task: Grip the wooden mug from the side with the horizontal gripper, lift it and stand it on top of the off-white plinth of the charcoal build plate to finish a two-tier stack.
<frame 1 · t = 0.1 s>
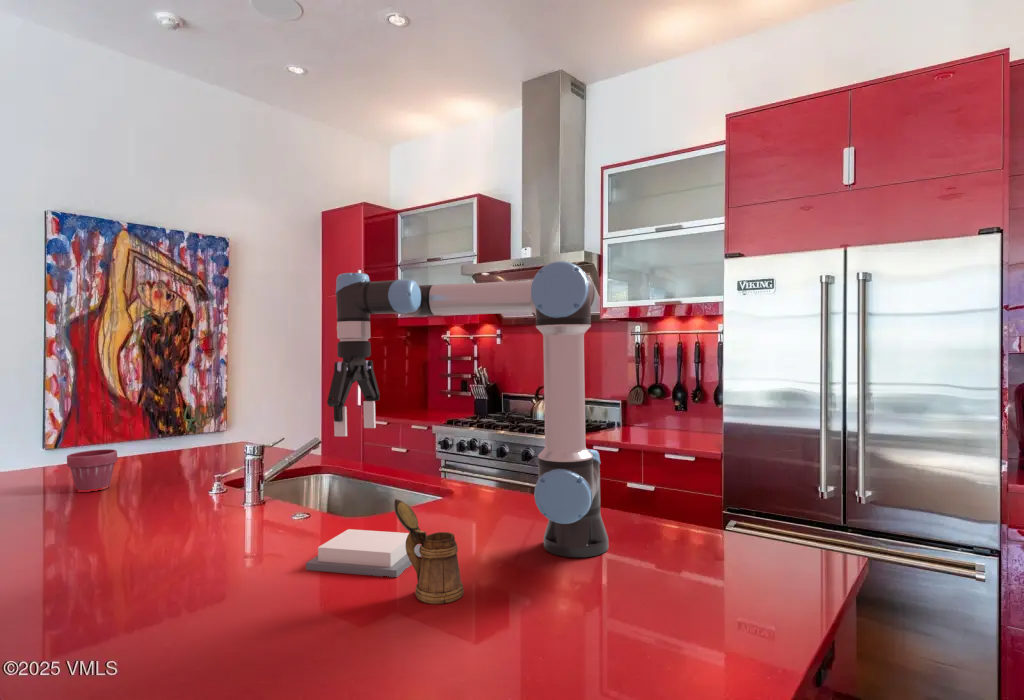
hand: (356, 432, 139), 28 cm above the worktop, tool pointing down, fingers open, 13 cm apart
build plate: (368, 560, 133), on the worktop
plant pot: (93, 490, 205), on the worktop
wooden mug: (428, 594, 115), on the worktop
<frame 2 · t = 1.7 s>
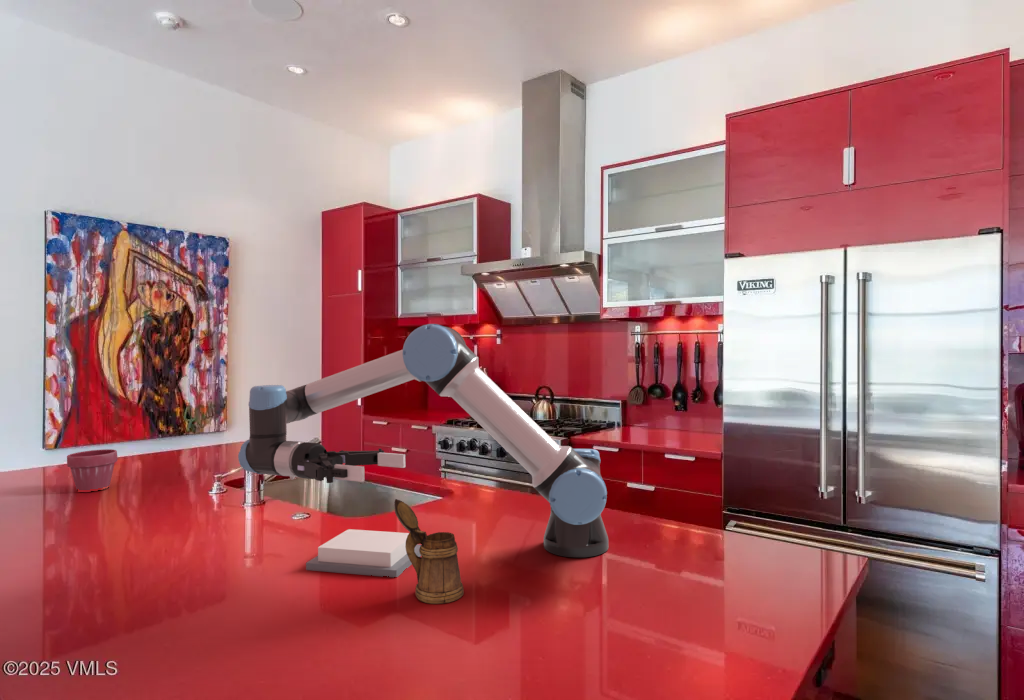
hand: (385, 467, 119), 24 cm above the worktop, tool horizontal, fingers open, 13 cm apart
nothing on the worktop moved.
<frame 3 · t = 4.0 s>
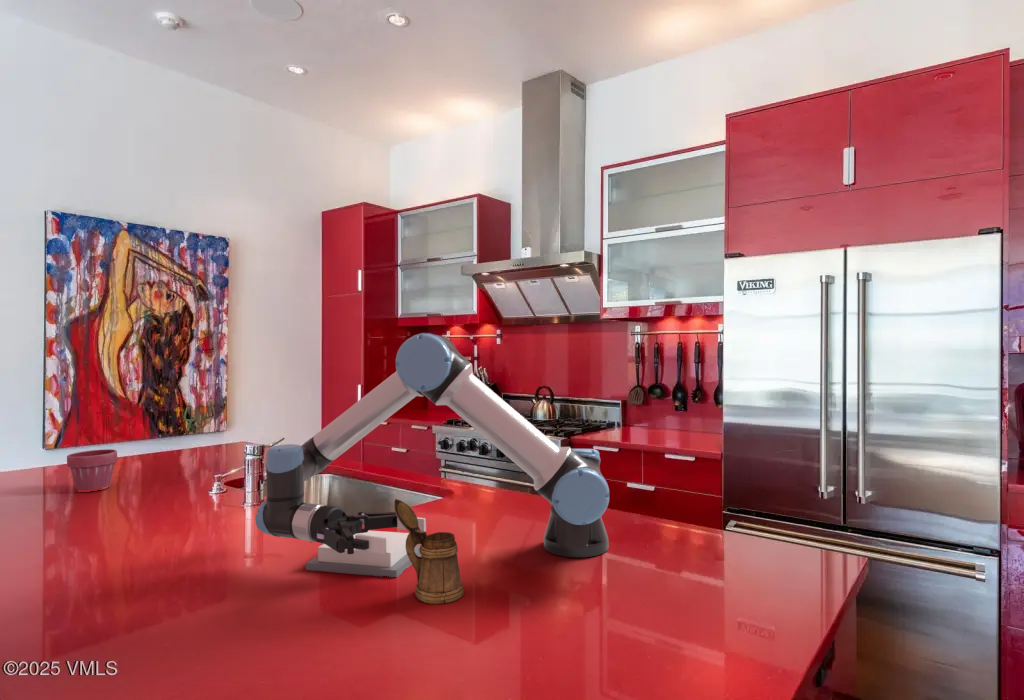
hand: (406, 535, 117), 11 cm above the worktop, tool horizontal, fingers open, 13 cm apart
nothing on the worktop moved.
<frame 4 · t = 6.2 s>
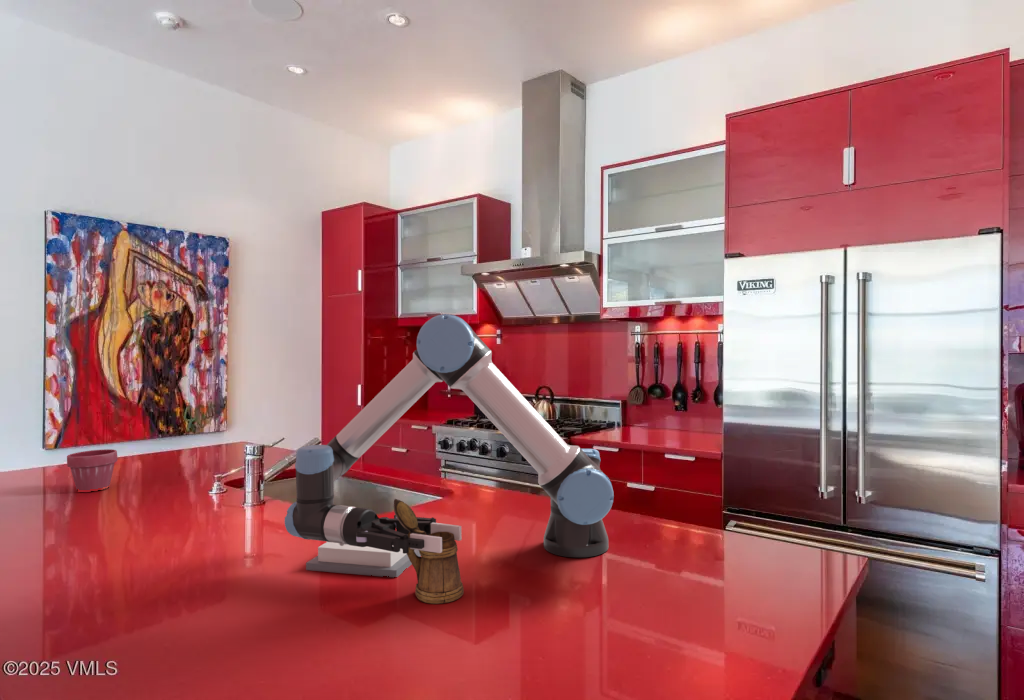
hand: (450, 539, 113), 11 cm above the worktop, tool horizontal, fingers closed on wooden mug, 7 cm apart
wooden mug: (428, 594, 115), on the worktop, touching gripper
everything else where it was.
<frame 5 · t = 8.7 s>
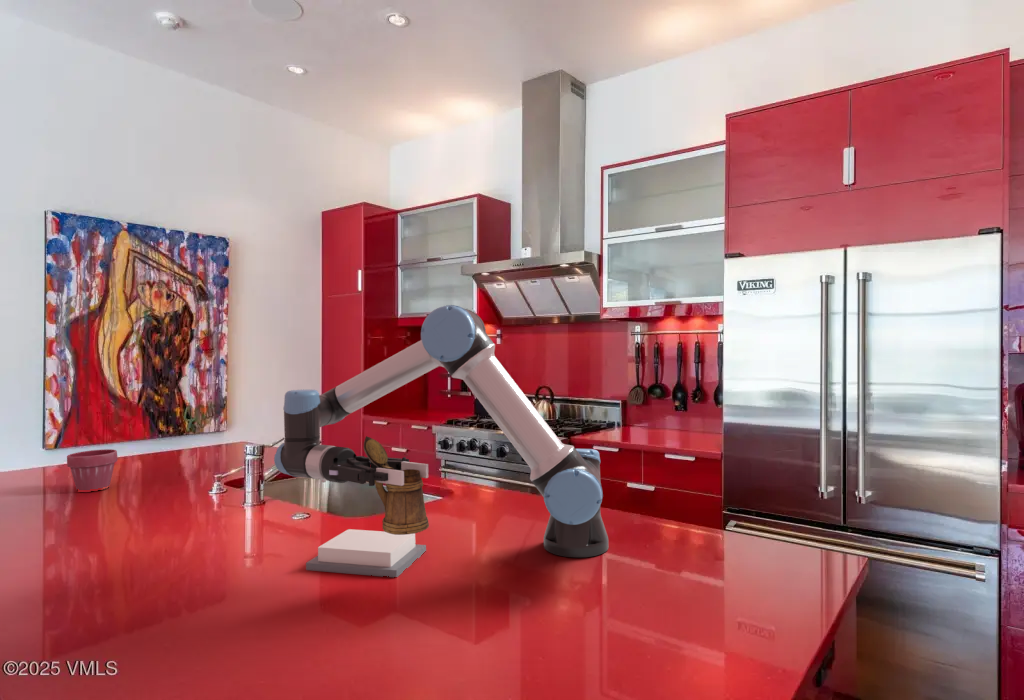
hand: (415, 474, 118), 22 cm above the worktop, tool horizontal, fingers closed on wooden mug, 7 cm apart
wooden mug: (396, 527, 120), point 11 cm above the worktop, touching gripper
everything else where it was.
when the fingers open (17 cm above the worktop, at t = 11.4 s): wooden mug drops 1 cm, resting on build plate.
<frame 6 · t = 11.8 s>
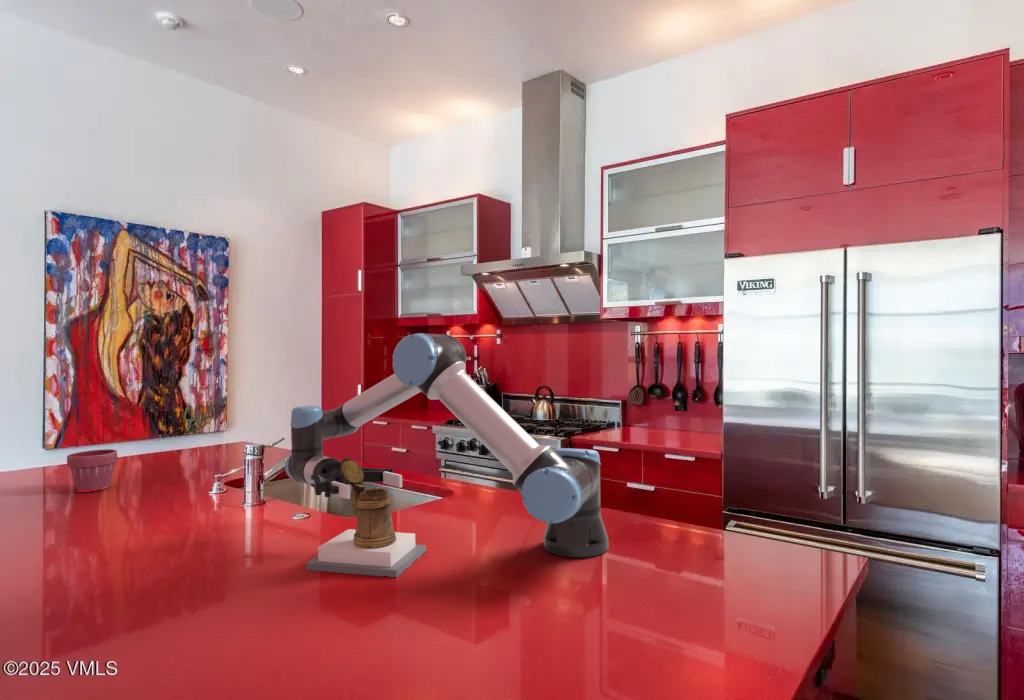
hand: (375, 486, 131), 17 cm above the worktop, tool horizontal, fingers open, 13 cm apart
wooden mug: (368, 540, 133), point 4 cm above the worktop, touching build plate
everything else where it was.
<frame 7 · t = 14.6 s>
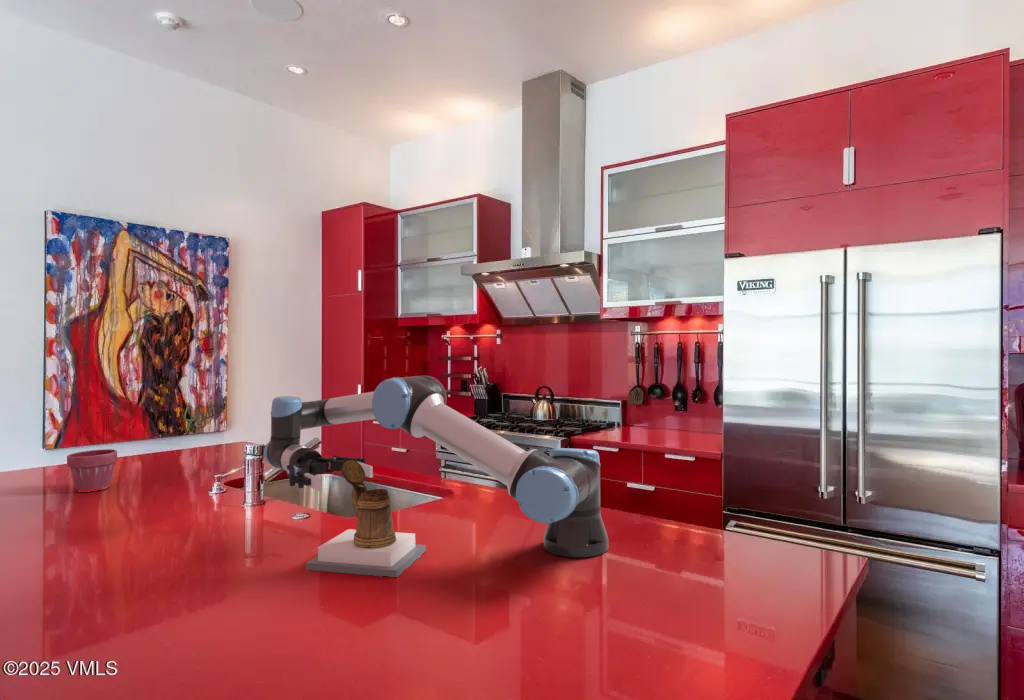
hand: (346, 478, 140), 17 cm above the worktop, tool horizontal, fingers open, 13 cm apart
nothing on the worktop moved.
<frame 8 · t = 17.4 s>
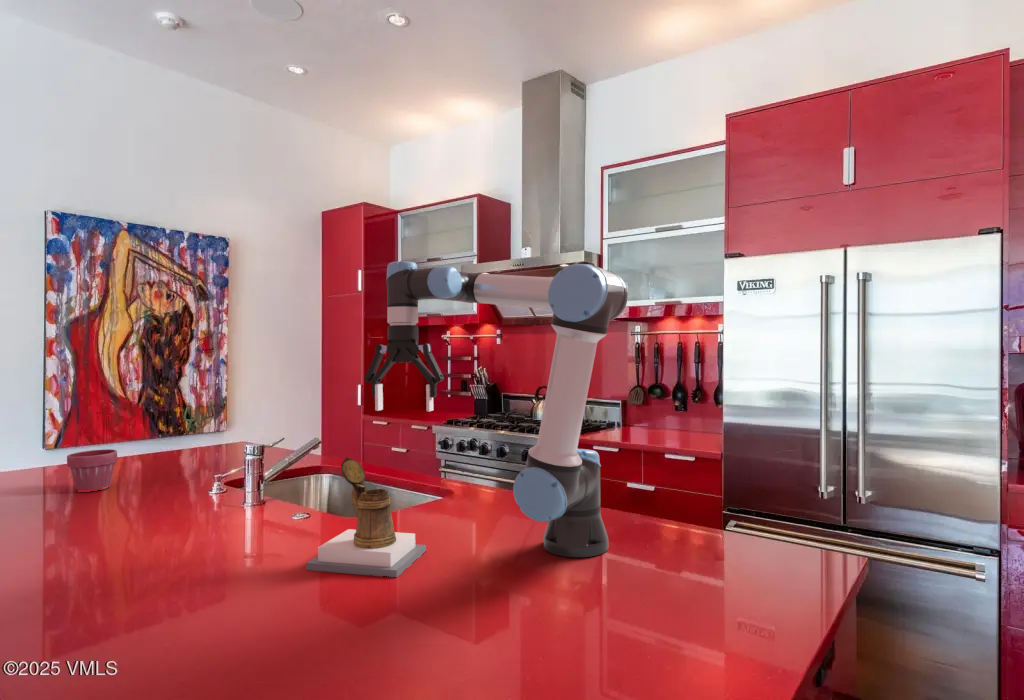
hand: (404, 410, 148), 32 cm above the worktop, tool pointing down, fingers open, 13 cm apart
nothing on the worktop moved.
at the end: wooden mug inside the target area on the build plate (0.0 cm from its centre), point 4.3 cm above the build plate's base; wooden mug tilted 0°; the gripper is holding nothing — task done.
